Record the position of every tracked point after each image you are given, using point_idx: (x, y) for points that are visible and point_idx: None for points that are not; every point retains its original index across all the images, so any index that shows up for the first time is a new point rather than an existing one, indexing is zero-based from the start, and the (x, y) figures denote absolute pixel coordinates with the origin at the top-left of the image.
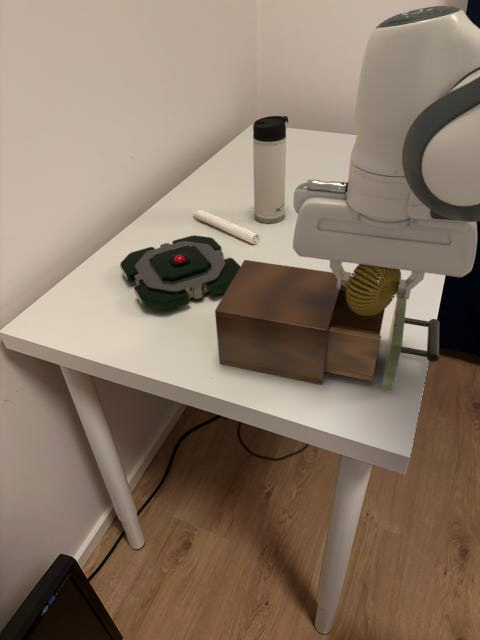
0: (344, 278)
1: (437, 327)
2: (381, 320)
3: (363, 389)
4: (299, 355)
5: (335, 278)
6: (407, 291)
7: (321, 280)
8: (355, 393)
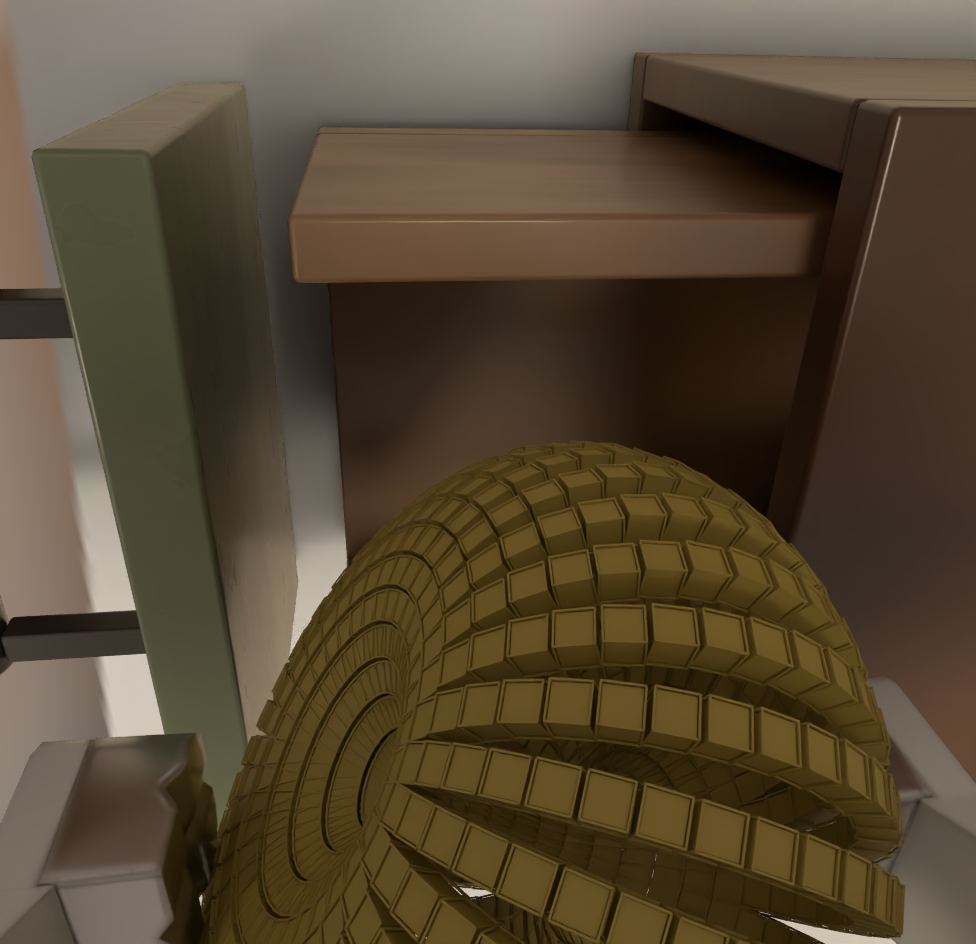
0: None
1: None
2: None
3: (367, 88)
4: (915, 73)
5: None
6: (32, 840)
7: None
8: (412, 33)
